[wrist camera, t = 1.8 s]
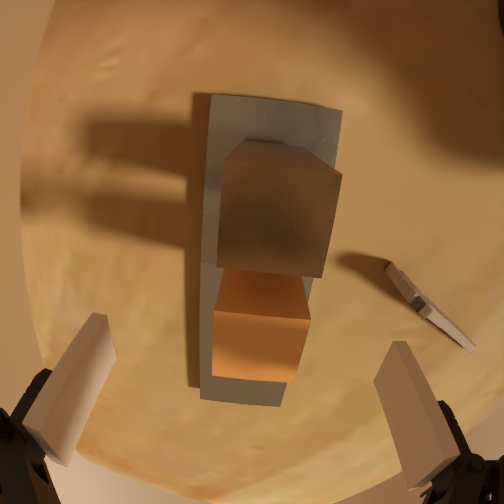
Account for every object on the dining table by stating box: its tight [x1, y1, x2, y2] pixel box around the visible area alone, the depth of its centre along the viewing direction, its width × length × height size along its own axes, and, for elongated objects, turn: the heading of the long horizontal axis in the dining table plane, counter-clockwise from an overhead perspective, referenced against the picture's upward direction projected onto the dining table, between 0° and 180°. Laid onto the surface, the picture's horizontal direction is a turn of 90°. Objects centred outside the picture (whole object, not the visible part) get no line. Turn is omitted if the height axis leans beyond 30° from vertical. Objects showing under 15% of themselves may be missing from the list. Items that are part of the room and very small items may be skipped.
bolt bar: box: [199, 95, 343, 407], centre depth 20 cm, size 9×30×13 cm, turn 174°
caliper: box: [384, 262, 476, 353], centre depth 25 cm, size 20×1×6 cm, turn 54°
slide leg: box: [212, 268, 311, 383], centre depth 18 cm, size 4×4×11 cm
